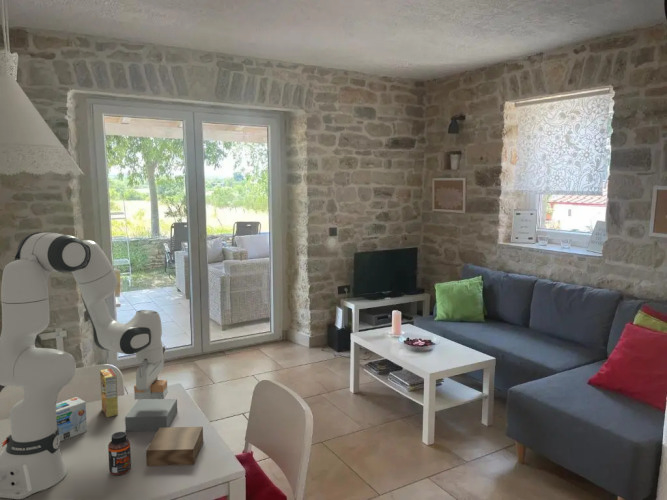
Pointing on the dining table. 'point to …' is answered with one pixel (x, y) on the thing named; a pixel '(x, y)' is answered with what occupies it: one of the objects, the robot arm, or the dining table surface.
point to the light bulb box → (71, 418)
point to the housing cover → (154, 386)
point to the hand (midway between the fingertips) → (151, 391)
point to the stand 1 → (151, 414)
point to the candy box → (109, 392)
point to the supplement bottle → (119, 454)
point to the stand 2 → (175, 446)
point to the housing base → (153, 396)
